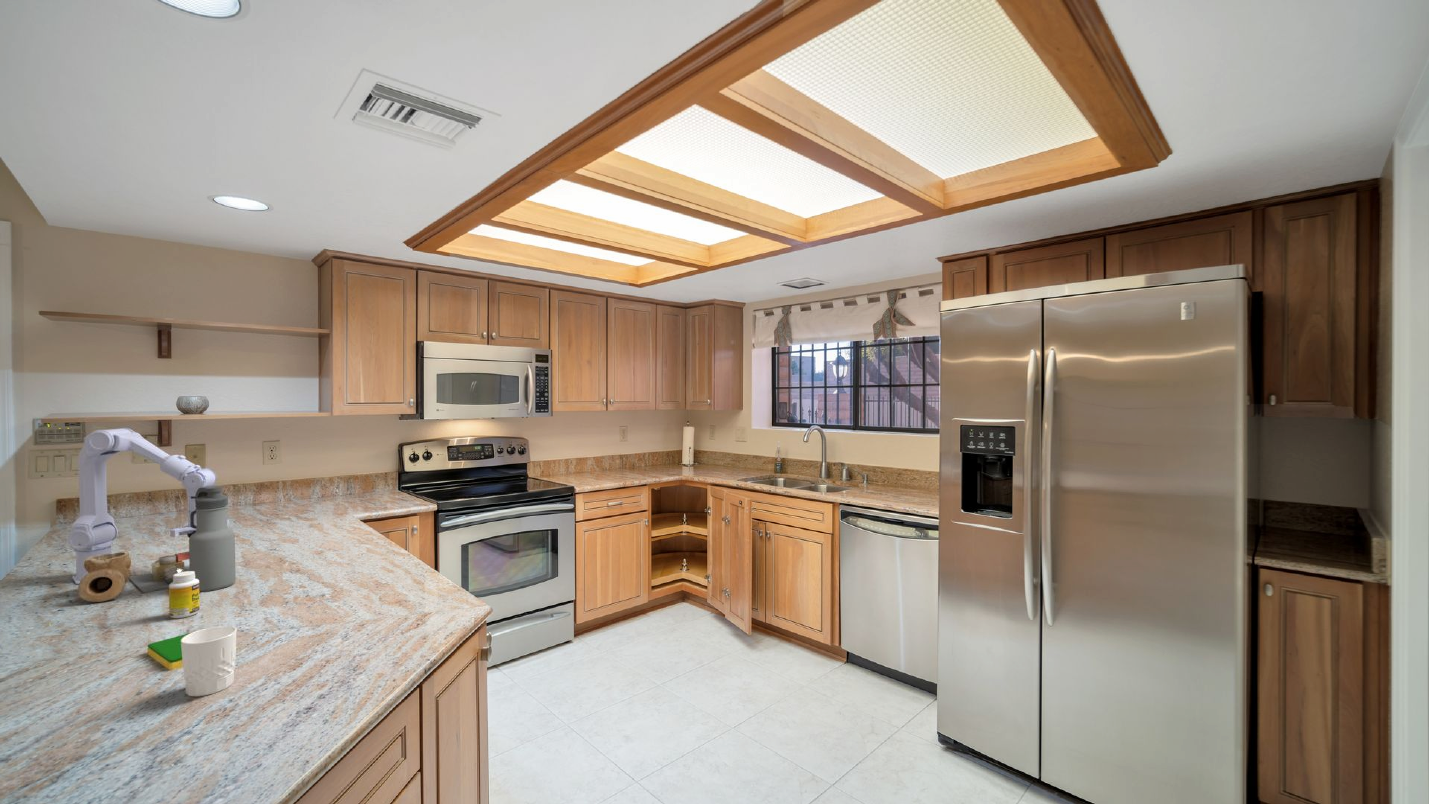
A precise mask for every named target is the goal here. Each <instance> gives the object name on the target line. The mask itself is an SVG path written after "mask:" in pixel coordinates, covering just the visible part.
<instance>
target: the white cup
mask: <svg viewBox="0 0 1429 804" xmlns="http://www.w3.org/2000/svg"><path fill="white" fill-rule="evenodd" d="M237 630H238V629H237V627H235V626H233V625H221V626H220V625H219V626H214V627H208V628H204V629H199V630H196V631H193V632H190V633H191V634H189V633H187V634H188V635H186V636H185V637H183V638H182V639H181V649H182V662H183V667H182V669H183V677H184V683H185V684H184V685H185V694H186V695H188V697H202V696H208V695H211V694H215V693H218V692H219V693H220V692H221V691H223V690H225V689H227V688H229V687H230V686H232V685H233V683H234V681H235V669H236V668H235V667H236V656H237V655H236V654H237V634H238V633H237Z"/></svg>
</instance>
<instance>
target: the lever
mask: <svg viewBox="0 0 1429 804" xmlns="http://www.w3.org/2000/svg"><path fill="white" fill-rule="evenodd" d="M158 560H159V564H170V563H174V562H176V561H183V562H184V561H187V560H189V550H188V551H184V552H179V553H174V555H171V554H170V555H165V556H160V557H159V558H158Z"/></svg>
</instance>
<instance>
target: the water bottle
mask: <svg viewBox="0 0 1429 804" xmlns="http://www.w3.org/2000/svg"><path fill="white" fill-rule="evenodd" d="M223 489H224V488H223V486H219V485H212V486H210V487H201V488H199V489H198V490H197V492H196V495H195V504H196V505H195V507H196V509H195V511H193V512H191V514H190V526H191V527H192V528H194V529H197V531H196V532H195V533H194V534H192V535H191V536H190V538H189V537H188V551H189V559H188V560H189V565H188V566H190V571H194V572H195V579H198V580H199V593H201V592H205V593H206V592H212V591H218V590H221V589H222V590H223V589H224V588H229V587H231V586H233V585H234V584H235V582H236V578H237V577H236V535H235V534H236V533H235V532H234V530H232V529H231V528H229V526H227V520H228V508H229V506H228V505H229V497H228V496H227V495H225V494H222V491H223ZM195 514H196V522H197V526H195V525H194V515H195Z"/></svg>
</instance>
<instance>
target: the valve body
mask: <svg viewBox="0 0 1429 804" xmlns="http://www.w3.org/2000/svg"><path fill="white" fill-rule="evenodd" d="M184 567H185V562H184V560H183V561H176V562H174V563H170V564H159V559H158V560H155V561H154V562H152V563H151V573H152V578H153V579H154V580H155V581H156V582H159V581H165V582H166V583H167V584H169V585H170V584H171V583H172V582H173V575H174V574H177V573H180V572H185V571H184Z"/></svg>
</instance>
